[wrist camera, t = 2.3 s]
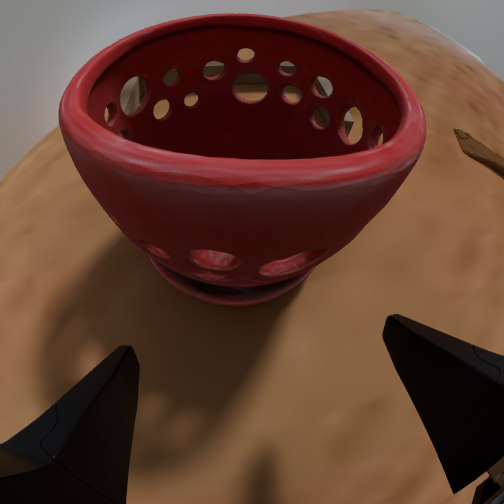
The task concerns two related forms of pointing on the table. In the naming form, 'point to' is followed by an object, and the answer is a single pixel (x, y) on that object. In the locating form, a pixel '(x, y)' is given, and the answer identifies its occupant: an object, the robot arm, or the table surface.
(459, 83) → the table surface
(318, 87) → the walnut corral
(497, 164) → the primitive tool
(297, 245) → the plant pot
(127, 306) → the table surface
